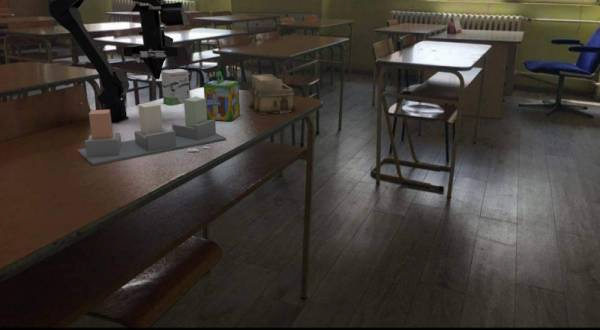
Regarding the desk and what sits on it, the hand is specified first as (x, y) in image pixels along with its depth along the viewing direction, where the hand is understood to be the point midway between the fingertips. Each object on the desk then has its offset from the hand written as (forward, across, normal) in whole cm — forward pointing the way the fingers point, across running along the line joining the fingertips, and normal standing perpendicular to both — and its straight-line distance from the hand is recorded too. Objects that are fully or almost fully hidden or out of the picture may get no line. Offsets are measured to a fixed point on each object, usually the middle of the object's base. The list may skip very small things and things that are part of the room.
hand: (157, 79), depth 155 cm
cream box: (+13, -11, +23) cm, 29 cm away
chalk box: (+14, -17, -9) cm, 24 cm away
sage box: (+14, -19, +13) cm, 27 cm away
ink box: (+13, +8, -24) cm, 28 cm away
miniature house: (+15, -28, -25) cm, 40 cm away
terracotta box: (+13, -4, +34) cm, 37 cm away
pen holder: (+14, -10, -25) cm, 30 cm away
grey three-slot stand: (+13, -11, +23) cm, 29 cm away
